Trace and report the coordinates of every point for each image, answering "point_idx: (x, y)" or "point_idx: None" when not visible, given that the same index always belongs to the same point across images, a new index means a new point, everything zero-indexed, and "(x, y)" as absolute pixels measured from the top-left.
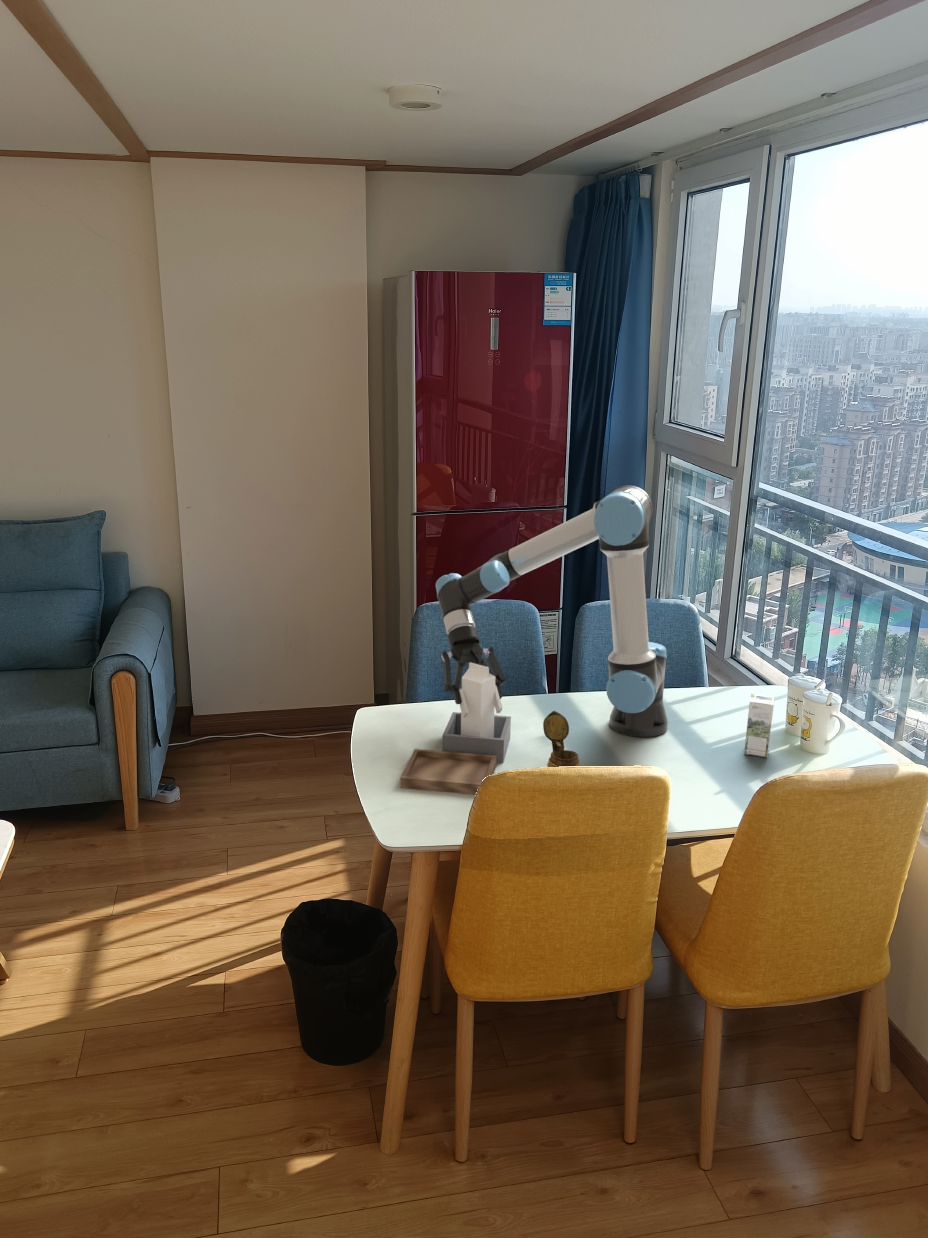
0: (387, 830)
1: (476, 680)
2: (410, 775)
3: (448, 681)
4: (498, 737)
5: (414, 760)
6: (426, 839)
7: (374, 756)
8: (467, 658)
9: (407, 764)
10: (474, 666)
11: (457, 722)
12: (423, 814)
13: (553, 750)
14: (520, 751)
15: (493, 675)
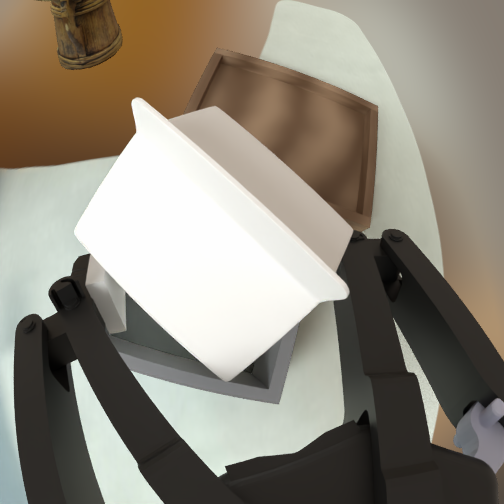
0: (359, 32)
1: (249, 139)
2: (360, 135)
3: (410, 251)
4: (128, 342)
5: (363, 180)
6: (312, 6)
7: (425, 253)
8: (343, 469)
9: (375, 151)
10: (280, 241)
11: (256, 381)
12: (322, 43)
13: (70, 19)
14: (84, 251)
15: (80, 343)
